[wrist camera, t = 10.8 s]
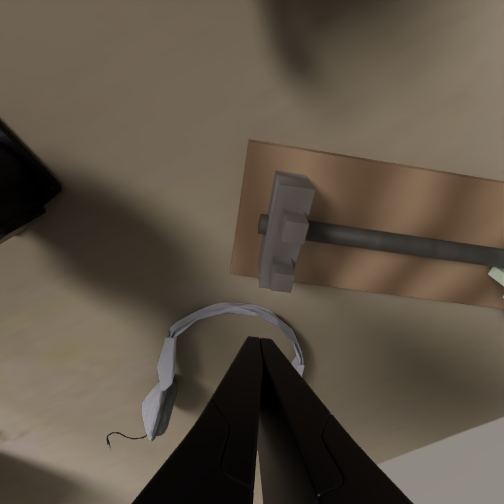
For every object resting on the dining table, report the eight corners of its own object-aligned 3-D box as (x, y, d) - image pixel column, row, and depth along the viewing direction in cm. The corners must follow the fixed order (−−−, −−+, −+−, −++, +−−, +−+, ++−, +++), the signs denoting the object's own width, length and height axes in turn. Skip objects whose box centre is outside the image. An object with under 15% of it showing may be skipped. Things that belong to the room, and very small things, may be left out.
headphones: (262, 448, 35) (320, 308, 29) (266, 502, 29) (340, 344, 23) (115, 424, 32) (145, 266, 26) (91, 479, 27) (122, 295, 21)
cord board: (230, 267, 24) (224, 321, 18) (248, 139, 19) (248, 157, 13) (540, 307, 26) (623, 367, 20) (625, 201, 21) (764, 240, 15)
